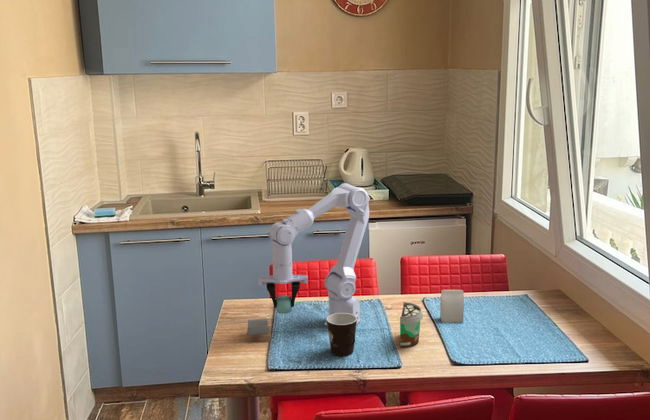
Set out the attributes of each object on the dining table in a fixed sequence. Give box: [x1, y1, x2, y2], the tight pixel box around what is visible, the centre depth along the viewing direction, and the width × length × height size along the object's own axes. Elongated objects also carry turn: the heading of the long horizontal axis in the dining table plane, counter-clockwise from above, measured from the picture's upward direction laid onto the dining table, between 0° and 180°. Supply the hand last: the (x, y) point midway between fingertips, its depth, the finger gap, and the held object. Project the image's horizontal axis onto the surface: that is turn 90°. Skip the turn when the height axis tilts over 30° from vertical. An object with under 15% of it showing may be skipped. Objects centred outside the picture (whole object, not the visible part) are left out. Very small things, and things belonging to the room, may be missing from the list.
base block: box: [245, 325, 272, 344], centre depth 195 cm, size 7×7×2 cm
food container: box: [399, 301, 424, 349], centre depth 189 cm, size 12×6×10 cm, turn 168°
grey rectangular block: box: [439, 289, 465, 323], centre depth 204 cm, size 4×7×10 cm, turn 87°
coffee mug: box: [326, 313, 358, 357], centre depth 182 cm, size 12×9×10 cm
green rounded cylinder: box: [275, 295, 293, 315], centre depth 194 cm, size 5×5×4 cm
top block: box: [247, 318, 269, 336], centre depth 195 cm, size 6×6×2 cm
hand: (283, 306), depth 194 cm, fingers closed on green rounded cylinder, 5 cm apart
